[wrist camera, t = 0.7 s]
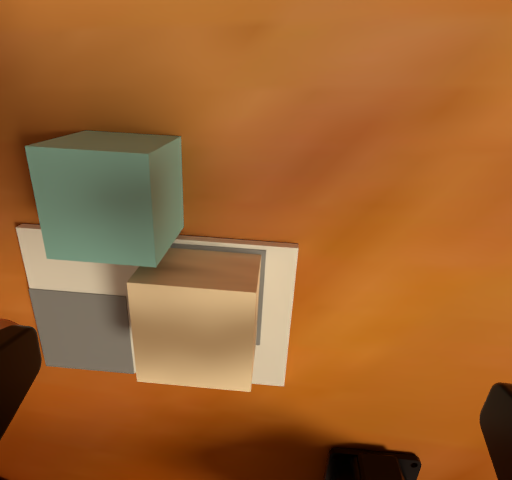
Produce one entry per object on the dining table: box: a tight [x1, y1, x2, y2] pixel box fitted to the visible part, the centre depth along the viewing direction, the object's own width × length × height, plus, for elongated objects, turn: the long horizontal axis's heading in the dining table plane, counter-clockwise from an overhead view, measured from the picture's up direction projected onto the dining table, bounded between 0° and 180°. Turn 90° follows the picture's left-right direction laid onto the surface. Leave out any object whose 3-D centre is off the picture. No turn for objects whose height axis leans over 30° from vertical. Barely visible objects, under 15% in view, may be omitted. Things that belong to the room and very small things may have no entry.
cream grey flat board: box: [16, 224, 298, 386], centre depth 23 cm, size 10×16×1 cm, turn 87°
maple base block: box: [127, 248, 261, 392], centre depth 20 cm, size 6×6×4 cm
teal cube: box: [25, 130, 184, 267], centre depth 18 cm, size 5×5×5 cm
